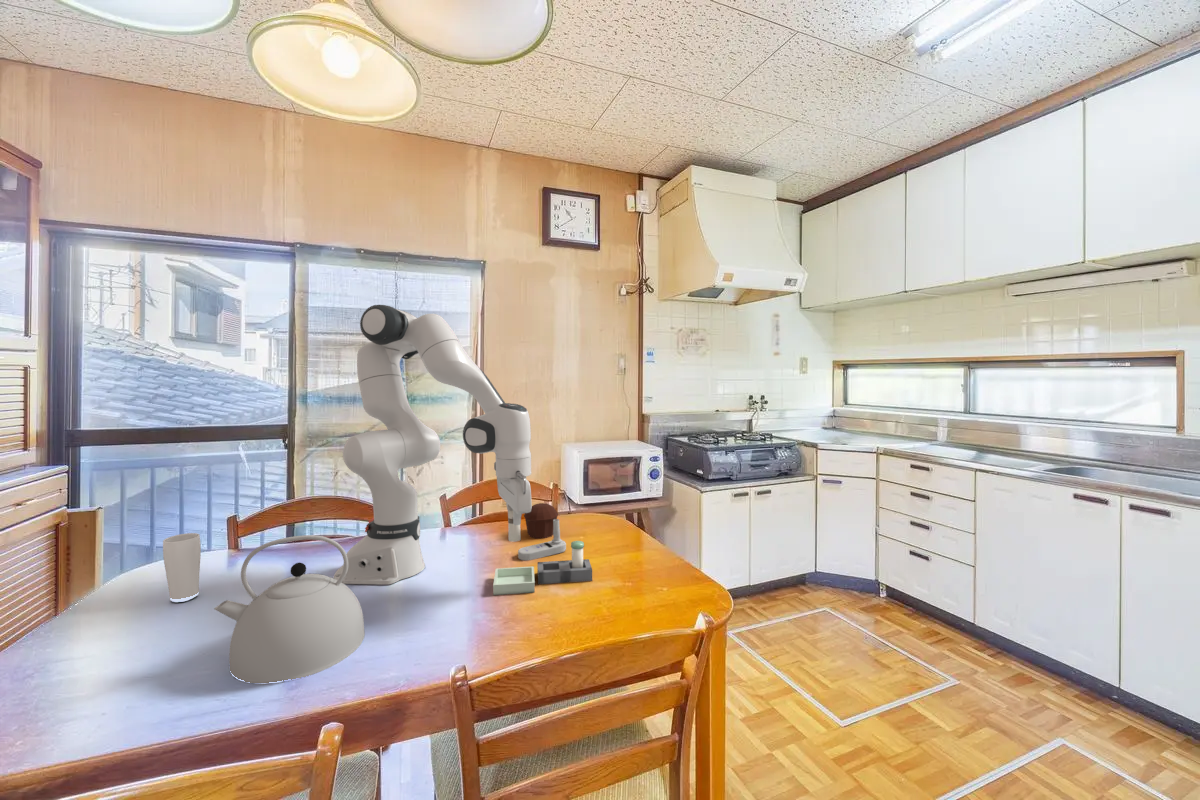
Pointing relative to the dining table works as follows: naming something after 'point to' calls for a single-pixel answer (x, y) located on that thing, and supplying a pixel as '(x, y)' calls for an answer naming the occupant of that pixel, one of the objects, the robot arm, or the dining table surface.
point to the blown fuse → (512, 527)
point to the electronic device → (544, 546)
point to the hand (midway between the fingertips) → (514, 521)
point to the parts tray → (514, 580)
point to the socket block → (563, 572)
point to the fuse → (577, 554)
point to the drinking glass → (182, 564)
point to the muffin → (540, 520)
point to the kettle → (293, 624)
